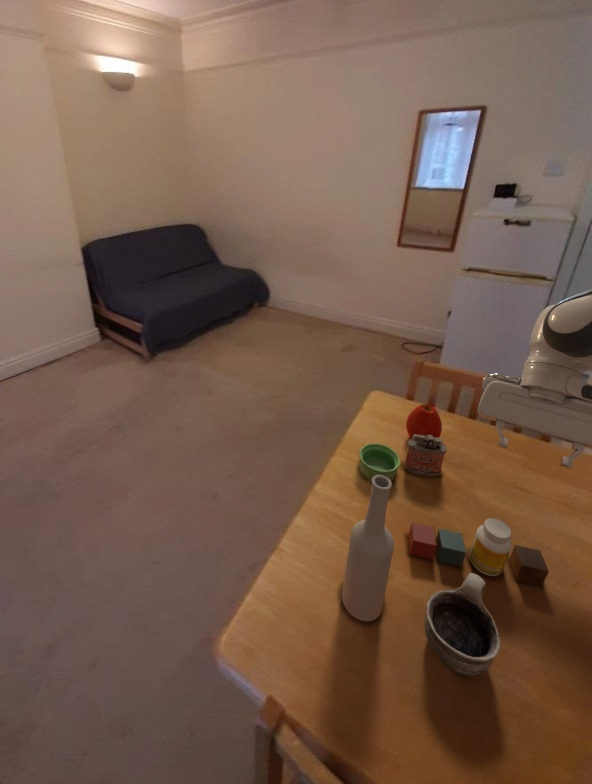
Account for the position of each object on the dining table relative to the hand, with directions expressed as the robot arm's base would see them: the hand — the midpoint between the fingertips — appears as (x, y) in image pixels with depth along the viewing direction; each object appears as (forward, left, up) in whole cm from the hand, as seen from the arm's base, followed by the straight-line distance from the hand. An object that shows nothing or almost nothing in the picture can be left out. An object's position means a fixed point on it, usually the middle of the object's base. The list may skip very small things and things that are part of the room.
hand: (532, 456), depth 74 cm
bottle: (+28, +23, -18) cm, 41 cm away
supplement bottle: (+6, +10, -18) cm, 22 cm away
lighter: (+15, -11, -18) cm, 26 cm away
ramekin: (+25, -8, -18) cm, 32 cm away
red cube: (+17, +10, -18) cm, 27 cm away
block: (+13, +10, -18) cm, 24 cm away
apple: (+14, -22, -18) cm, 31 cm away
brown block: (0, +10, -18) cm, 21 cm away
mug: (+14, +25, -18) cm, 34 cm away
